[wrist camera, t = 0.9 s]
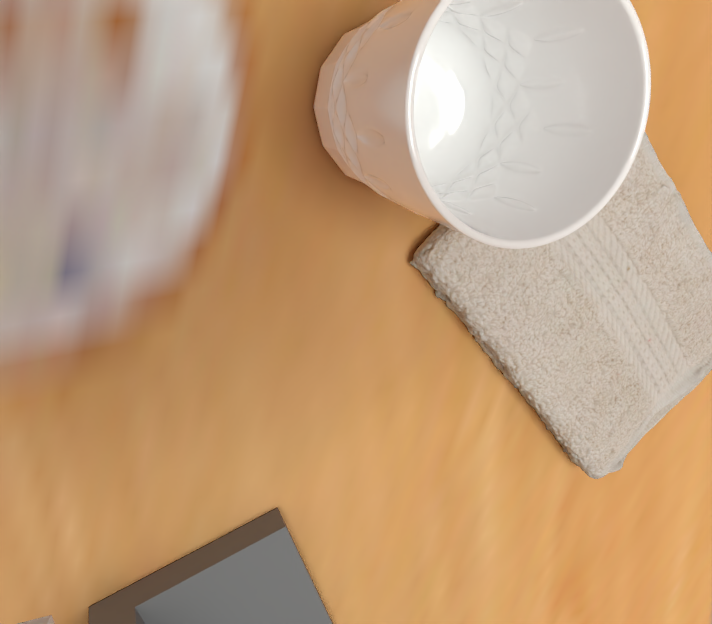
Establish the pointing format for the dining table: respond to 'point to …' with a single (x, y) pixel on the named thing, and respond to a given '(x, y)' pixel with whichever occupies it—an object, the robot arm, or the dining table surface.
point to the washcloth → (591, 314)
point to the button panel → (224, 584)
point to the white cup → (490, 111)
